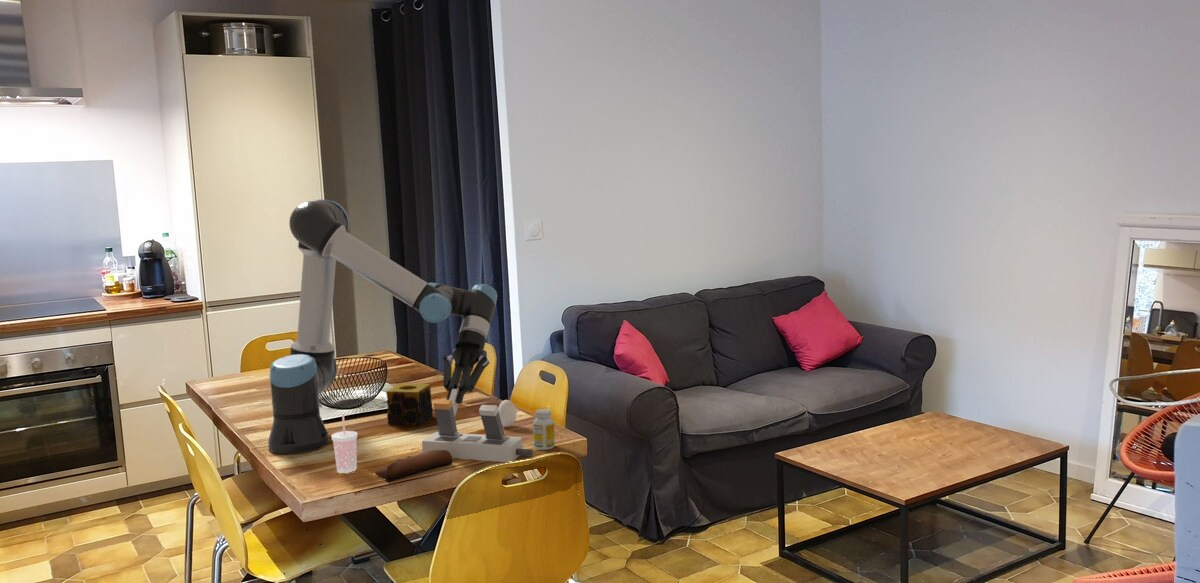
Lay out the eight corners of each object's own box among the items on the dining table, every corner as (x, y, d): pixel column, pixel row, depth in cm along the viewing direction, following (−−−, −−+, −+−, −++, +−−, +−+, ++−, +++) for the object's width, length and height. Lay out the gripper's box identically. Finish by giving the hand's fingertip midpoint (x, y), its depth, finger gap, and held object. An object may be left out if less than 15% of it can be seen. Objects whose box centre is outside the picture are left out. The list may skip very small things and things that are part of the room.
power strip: (422, 456, 229) (421, 440, 228) (437, 446, 236) (436, 431, 236) (526, 463, 221) (525, 447, 220) (537, 453, 228) (537, 437, 228)
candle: (420, 426, 255) (418, 392, 254) (386, 425, 257) (384, 391, 256) (433, 416, 265) (432, 383, 264) (401, 415, 267) (399, 382, 266)
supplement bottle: (534, 450, 231) (532, 414, 229) (533, 444, 236) (532, 408, 234) (555, 449, 231) (553, 413, 230) (554, 443, 236) (552, 407, 235)
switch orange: (441, 432, 232) (434, 399, 228) (460, 434, 231) (453, 400, 227) (438, 437, 230) (431, 403, 226) (456, 438, 229) (450, 404, 225)
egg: (509, 430, 249) (507, 403, 248) (493, 427, 252) (492, 401, 251) (520, 425, 253) (519, 398, 252) (505, 423, 256) (504, 396, 255)
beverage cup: (330, 469, 220) (326, 413, 218) (355, 464, 224) (351, 409, 222) (337, 476, 215) (333, 419, 213) (363, 471, 218) (359, 415, 216)
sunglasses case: (434, 456, 228) (440, 437, 225) (448, 475, 224) (455, 456, 221) (369, 474, 216) (375, 454, 213) (383, 495, 212) (389, 475, 209)
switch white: (488, 435, 228) (479, 404, 223) (507, 436, 227) (499, 405, 222) (485, 440, 227) (476, 410, 221) (504, 442, 225) (496, 411, 220)
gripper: (499, 344, 244) (479, 422, 231) (455, 343, 248) (432, 420, 235) (490, 328, 239) (469, 407, 225) (445, 328, 242) (421, 405, 229)
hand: (450, 413), depth 230 cm, fingers closed
